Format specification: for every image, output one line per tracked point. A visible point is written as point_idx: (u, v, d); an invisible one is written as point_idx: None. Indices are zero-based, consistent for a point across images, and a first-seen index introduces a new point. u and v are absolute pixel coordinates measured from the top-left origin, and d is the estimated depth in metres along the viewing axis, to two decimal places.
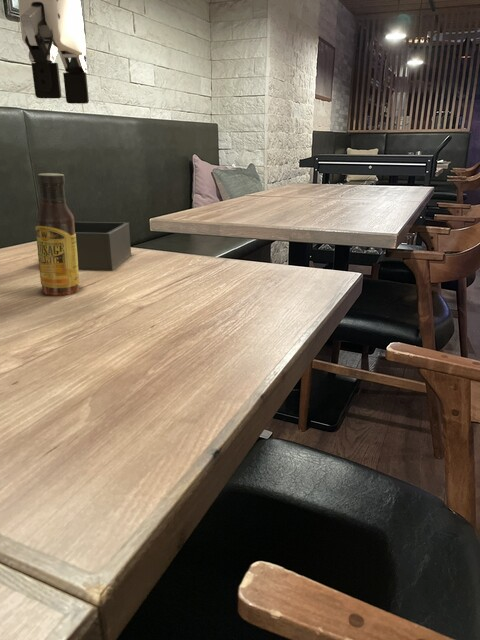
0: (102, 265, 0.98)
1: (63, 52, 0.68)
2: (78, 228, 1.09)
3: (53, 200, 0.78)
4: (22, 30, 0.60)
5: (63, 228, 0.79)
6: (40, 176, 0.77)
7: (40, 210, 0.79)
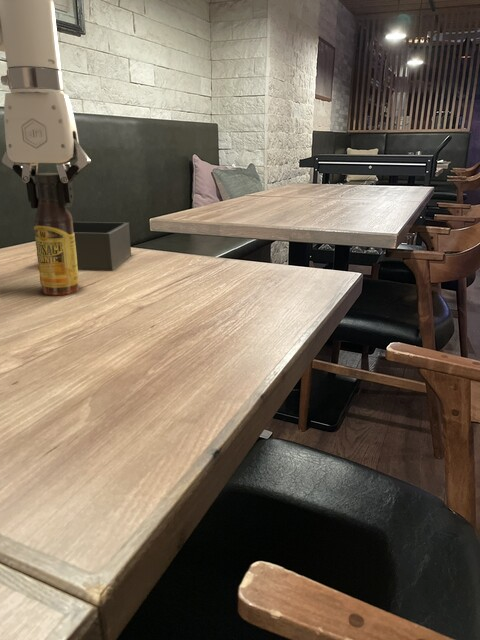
0: (102, 265, 0.98)
1: None
2: (78, 228, 1.09)
3: (50, 200, 0.78)
4: (69, 151, 0.75)
5: (61, 228, 0.79)
6: (37, 176, 0.77)
7: (38, 210, 0.79)
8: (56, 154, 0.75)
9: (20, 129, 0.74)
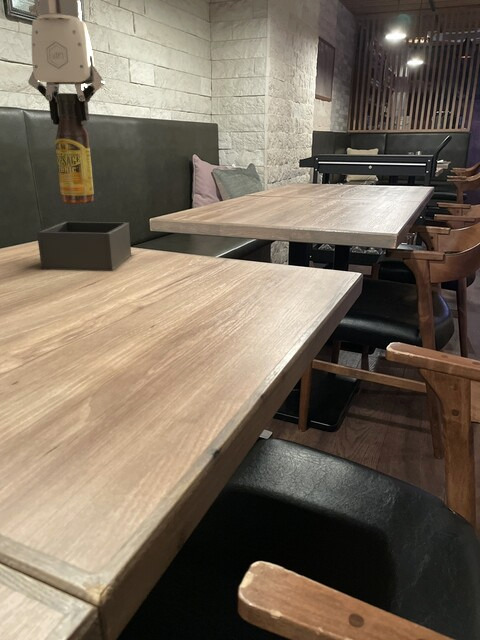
0: (102, 265, 0.98)
1: None
2: (78, 228, 1.09)
3: (70, 116, 0.91)
4: (87, 71, 0.87)
5: (79, 141, 0.92)
6: (58, 94, 0.90)
7: (59, 125, 0.92)
8: (75, 74, 0.87)
9: (45, 51, 0.86)
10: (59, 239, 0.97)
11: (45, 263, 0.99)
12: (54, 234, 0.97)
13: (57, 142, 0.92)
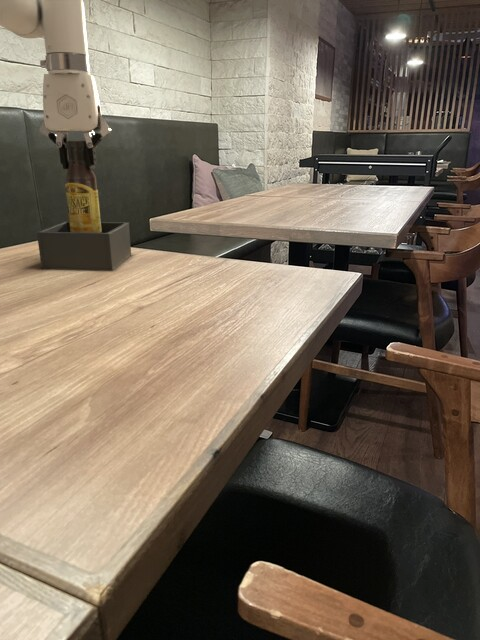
0: (102, 265, 0.98)
1: (62, 130, 0.95)
2: None
3: (79, 161, 0.96)
4: (95, 121, 0.93)
5: (87, 184, 0.97)
6: (68, 142, 0.95)
7: (69, 170, 0.97)
8: (84, 123, 0.93)
9: (55, 103, 0.92)
10: (59, 239, 0.97)
11: (45, 263, 0.99)
12: (54, 234, 0.97)
13: (67, 186, 0.97)
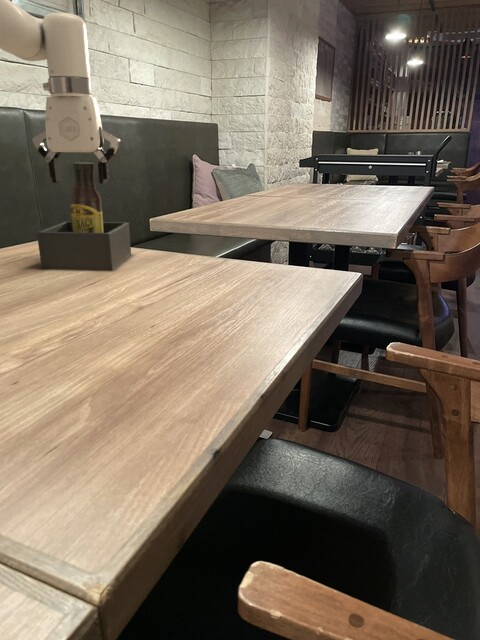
0: (102, 265, 0.98)
1: None
2: None
3: (85, 183, 0.98)
4: (97, 143, 0.94)
5: (93, 206, 0.99)
6: (75, 164, 0.97)
7: (75, 191, 0.98)
8: (86, 145, 0.94)
9: (58, 125, 0.93)
10: (59, 239, 0.97)
11: (45, 263, 0.99)
12: (54, 234, 0.97)
13: (72, 207, 0.99)
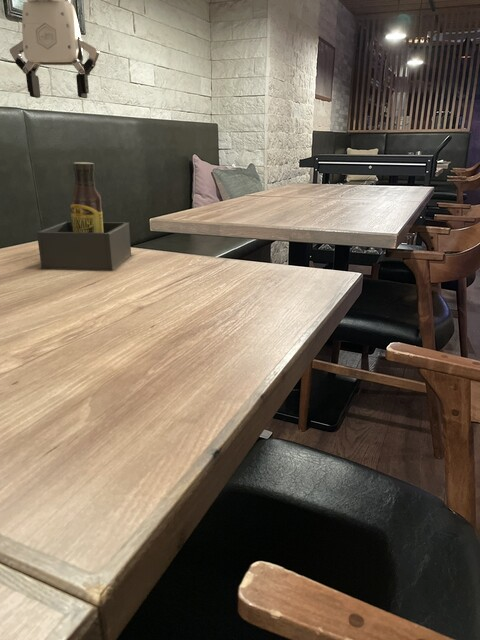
0: (102, 265, 0.98)
1: None
2: None
3: (85, 183, 0.98)
4: (74, 52, 0.92)
5: (93, 206, 0.99)
6: (75, 164, 0.97)
7: (75, 191, 0.98)
8: (64, 54, 0.92)
9: (35, 32, 0.91)
10: (59, 239, 0.97)
11: (45, 263, 0.99)
12: (54, 234, 0.97)
13: (72, 207, 0.99)
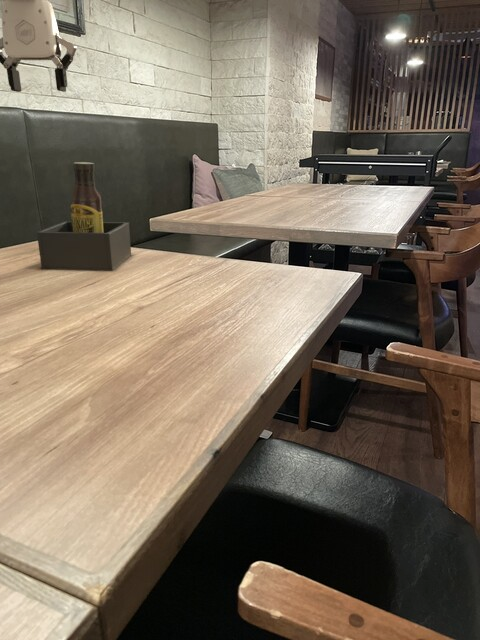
0: (102, 265, 0.98)
1: None
2: None
3: (85, 183, 0.98)
4: (52, 47, 0.96)
5: (93, 206, 0.99)
6: (75, 164, 0.97)
7: (75, 191, 0.98)
8: (42, 49, 0.96)
9: (14, 29, 0.95)
10: (59, 239, 0.97)
11: (45, 263, 0.99)
12: (54, 234, 0.97)
13: (72, 207, 0.99)
